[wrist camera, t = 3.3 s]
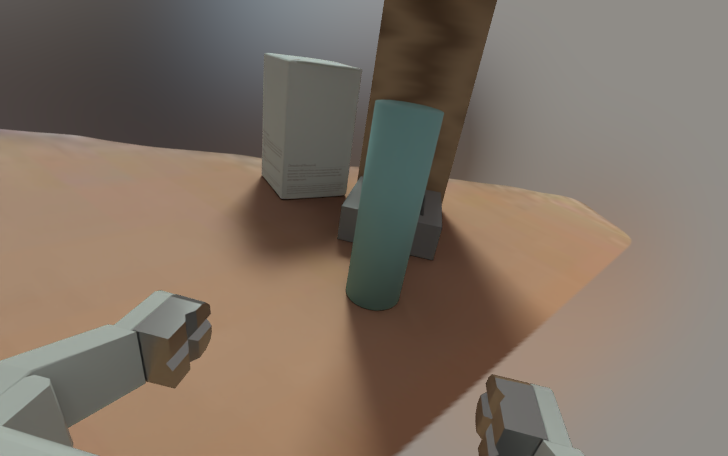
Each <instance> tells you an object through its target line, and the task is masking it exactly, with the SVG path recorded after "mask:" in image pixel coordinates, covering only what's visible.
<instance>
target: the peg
mask: <svg viewBox="0 0 728 456" xmlns="http://www.w3.org/2000/svg"><path fill="white" fill-rule="evenodd" d="M443 116H444V112H443V111H441V110H438V109H435V108H432V107H429V106H425V105H420V104H415V103H410V102H404V101H396V100H376V101H375V106H374V112H373V119H372V125H371V132H370V138H369V144H368V151H367V157H366V164H365V170H364V176H363V183H362V189H361V195H360V202H359V208H358V215H357V221H356V227H355V234H354V240H353V247H352V253H351V259H350V266H349V272H348V278H347V285H346V293H347V296H348V297H349V299H350V300H351V301H352V302H354V303H355V304H357V305H358V306H360V307H363V308H366V309H370V310H386V309H389V308H392V307H393V306H395V305H396V304H397V303H398V301H399V297H400V293H401V288H402V284H403V280H404V276H405V272H406V268H407V264H408V260H409V256H410V252H411V247H412V243H413V239H414V235H415V231H416V227H417V223H418V219H419V215H420V211H421V207H422V202H423V198H424V194H425V190H426V186H427V182H428V178H429V174H430V170H431V166H432V161H433V157H434V153H435V149H436V145H437V141H438V137H439V133H440V129H441V125H442V120H443Z"/></svg>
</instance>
